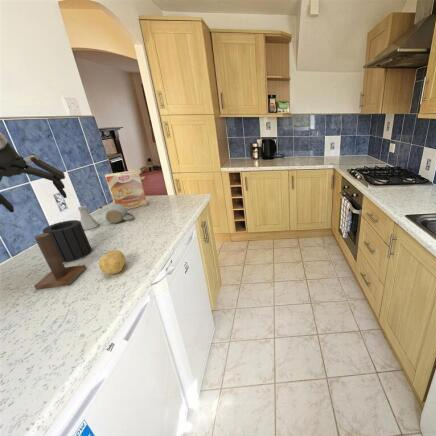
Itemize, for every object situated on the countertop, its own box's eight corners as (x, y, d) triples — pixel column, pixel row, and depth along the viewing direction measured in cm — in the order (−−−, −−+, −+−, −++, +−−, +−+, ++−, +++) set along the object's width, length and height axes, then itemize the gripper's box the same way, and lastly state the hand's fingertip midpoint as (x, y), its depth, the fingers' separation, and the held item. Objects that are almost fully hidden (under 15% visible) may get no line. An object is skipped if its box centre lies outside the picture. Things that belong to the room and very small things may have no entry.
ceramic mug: (107, 225, 115) (102, 210, 112) (112, 218, 122) (107, 204, 119) (132, 221, 118) (128, 207, 115) (136, 215, 125) (132, 202, 122)
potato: (98, 282, 75) (91, 265, 73) (108, 263, 85) (102, 248, 82) (123, 276, 77) (117, 260, 75) (130, 259, 87) (125, 243, 84)
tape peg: (36, 289, 73) (10, 244, 66) (56, 272, 81) (35, 230, 75) (70, 285, 74) (48, 240, 68) (86, 268, 82) (68, 227, 76)
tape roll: (49, 262, 87) (34, 232, 82) (74, 247, 96) (62, 220, 91) (75, 262, 86) (62, 232, 81) (98, 248, 95) (87, 220, 90)
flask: (98, 222, 118) (91, 203, 114) (99, 227, 113) (92, 207, 109) (80, 226, 114) (71, 207, 110) (80, 231, 109) (71, 211, 105)
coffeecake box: (117, 211, 131) (105, 176, 124) (115, 208, 136) (103, 174, 128) (148, 204, 141) (138, 171, 133) (144, 202, 145) (135, 169, 138)
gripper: (-83, 166, 57) (-13, 224, 73) (50, 143, 70) (86, 196, 85) (-79, 150, 61) (-13, 208, 77) (47, 130, 73) (82, 184, 89)
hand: (39, 202), depth 81 cm, fingers open, 13 cm apart
